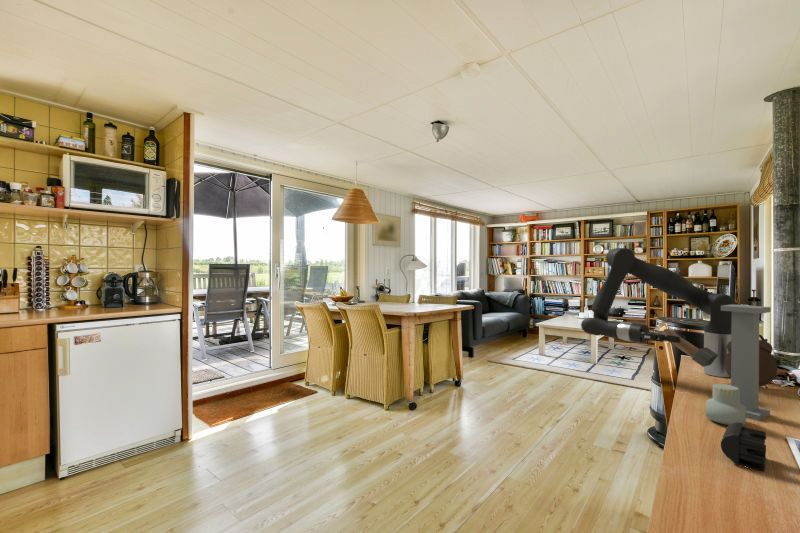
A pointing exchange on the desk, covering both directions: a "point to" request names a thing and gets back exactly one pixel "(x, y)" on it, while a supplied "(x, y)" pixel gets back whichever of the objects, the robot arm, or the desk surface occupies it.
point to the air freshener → (726, 405)
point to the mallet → (694, 350)
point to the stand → (746, 356)
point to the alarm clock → (765, 362)
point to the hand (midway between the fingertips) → (681, 339)
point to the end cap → (745, 446)
